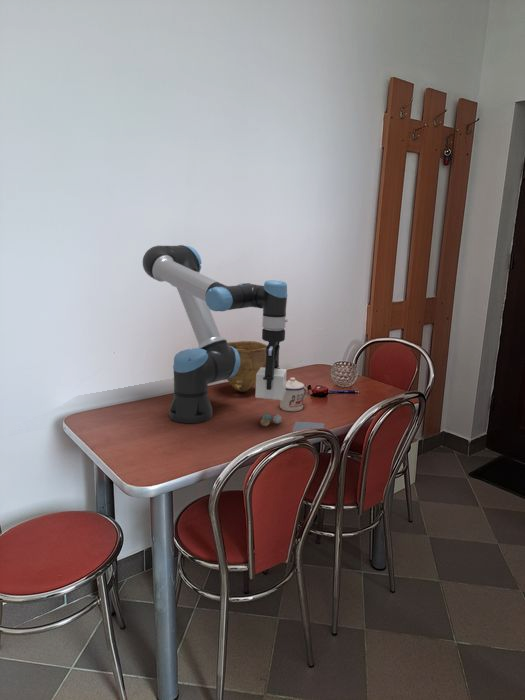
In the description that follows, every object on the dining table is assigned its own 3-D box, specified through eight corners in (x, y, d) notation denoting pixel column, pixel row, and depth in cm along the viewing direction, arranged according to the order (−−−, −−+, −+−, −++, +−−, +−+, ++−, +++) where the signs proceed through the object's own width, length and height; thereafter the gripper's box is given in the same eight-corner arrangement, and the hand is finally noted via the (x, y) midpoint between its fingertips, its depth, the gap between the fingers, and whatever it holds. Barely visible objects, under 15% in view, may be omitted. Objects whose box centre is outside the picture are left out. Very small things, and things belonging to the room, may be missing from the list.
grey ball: (272, 424, 173) (272, 416, 173) (273, 421, 176) (273, 413, 175) (280, 425, 173) (281, 416, 172) (281, 422, 176) (282, 413, 175)
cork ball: (259, 427, 170) (260, 419, 170) (261, 424, 173) (261, 415, 173) (268, 428, 170) (269, 419, 169) (270, 424, 173) (270, 416, 172)
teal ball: (261, 423, 174) (261, 415, 173) (263, 420, 177) (263, 412, 176) (270, 424, 173) (270, 416, 173) (271, 421, 176) (271, 413, 176)
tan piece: (208, 395, 203) (208, 346, 199) (230, 382, 221) (230, 337, 217) (255, 402, 195) (256, 352, 191) (274, 388, 214) (276, 342, 209)
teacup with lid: (290, 413, 184) (291, 382, 182) (274, 406, 191) (275, 377, 189) (314, 407, 191) (315, 377, 189) (298, 401, 198) (299, 372, 196)
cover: (255, 397, 167) (256, 374, 165) (259, 389, 176) (260, 367, 174) (282, 399, 166) (283, 376, 164) (285, 391, 175) (286, 369, 173)
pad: (292, 433, 166) (292, 432, 166) (295, 422, 176) (295, 421, 176) (323, 435, 164) (323, 434, 164) (324, 424, 174) (324, 423, 174)
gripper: (280, 335, 154) (277, 405, 160) (288, 323, 175) (285, 385, 181) (256, 334, 156) (254, 403, 161) (267, 321, 176) (265, 383, 182)
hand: (270, 393), depth 171 cm, fingers closed on cover, 9 cm apart
